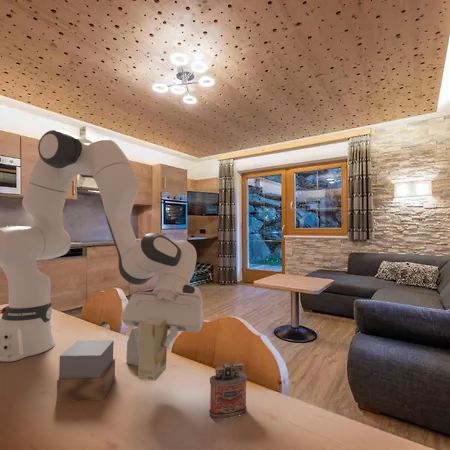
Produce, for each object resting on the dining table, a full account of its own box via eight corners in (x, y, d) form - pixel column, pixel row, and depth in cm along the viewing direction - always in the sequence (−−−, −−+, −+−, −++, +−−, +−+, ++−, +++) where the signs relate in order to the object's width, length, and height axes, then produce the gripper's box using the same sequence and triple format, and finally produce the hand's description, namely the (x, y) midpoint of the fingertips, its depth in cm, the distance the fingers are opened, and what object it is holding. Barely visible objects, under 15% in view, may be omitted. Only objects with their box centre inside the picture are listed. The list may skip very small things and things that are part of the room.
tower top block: (58, 378, 63) (59, 355, 64) (77, 360, 72) (77, 340, 73) (100, 377, 64) (100, 355, 64) (113, 359, 73) (113, 340, 73)
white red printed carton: (151, 356, 86) (152, 323, 86) (136, 365, 80) (137, 330, 80) (142, 354, 88) (142, 321, 88) (126, 363, 81) (127, 328, 82)
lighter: (211, 421, 57) (212, 371, 57) (207, 411, 60) (208, 363, 60) (248, 415, 59) (249, 366, 59) (243, 405, 62) (244, 359, 62)
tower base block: (56, 403, 62) (57, 380, 63) (73, 380, 72) (74, 360, 72) (103, 400, 64) (104, 378, 64) (114, 377, 74) (115, 358, 74)
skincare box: (155, 382, 61) (157, 325, 62) (137, 379, 62) (139, 323, 63) (167, 368, 68) (169, 317, 68) (150, 366, 69) (152, 315, 69)
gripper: (130, 283, 74) (106, 334, 64) (205, 289, 70) (192, 343, 60) (137, 297, 78) (116, 346, 69) (209, 302, 75) (197, 356, 65)
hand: (152, 345), depth 64 cm, fingers closed on skincare box, 4 cm apart
